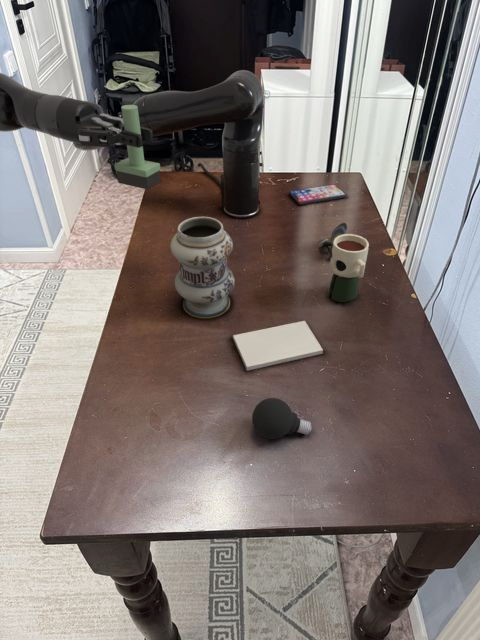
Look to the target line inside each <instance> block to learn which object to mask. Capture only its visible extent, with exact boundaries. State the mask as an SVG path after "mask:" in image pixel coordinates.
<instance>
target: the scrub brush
mask: <svg viewBox="0 0 480 640" xmlns="http://www.w3.org/2000/svg"><path fill="white" fill-rule="evenodd" d="M120 108H121V112H122V115H123V122H124V129H125V131H129V132H133V133H137V134H140V135H141V130H140V122H139V115H138V107H137V106H135V105H133V104H126V105H125V104H124V105H122V106H121V107H120ZM126 149H127V156H128V157H127V158H124V159H122V160H121V161H118V162H116V163H114V171H116V178H117V183H118V184H121V185H127V186H131V187H135V188H140V189H143V190H147V191H148V190H150V189H152V188H153V187H155V186H157V185H159V184H160V183H162V177H161V164H160V163H159V162H154V161H150V160H145V156H144V154H145V153H144V146H143V145H142V147H140V148H137V147H133V146H129V145H126Z"/></svg>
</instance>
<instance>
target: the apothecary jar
mask: <svg viewBox="0 0 480 640" xmlns="http://www.w3.org/2000/svg"><path fill="white" fill-rule="evenodd" d="M176 230H177V231H176V233H175V234H174V236H173V237H172V239H171V242H170V251H171V254H172V255H173V257H174V258H175V259H176V260H177V261H178V266H179V271H178V273H176V276H175V279H174V288H175V290H176V292H177V293H178V295H180V296H181V297H182V298H183V301H182V307H183V310H184V311H185V312H186V314H188V315H189V316H191V317H193V318H197V319H213V318H216V317H220V316H222V315H223V314H225V313H226V312H227V311H228V310H229V309H230V306H231V298H230V296H229V295H230V294H231V293H232V291H233V290H234V288H235V284H236V279H235V276H234V273H233V271H232V270H231V269H230V268H229V267H228V257H230V255H231V254H232V251H233V248H234V241H233V239H232V237H231V235H229V233H228V232H227V231H226V230H224V225H223V224H222V222H221V221H220V220H218V219H217V218H214V217H210V216H194V217H189V218H187V219H185V220H183V221H181V222H180V223H179V224H178V226H177V229H176Z"/></svg>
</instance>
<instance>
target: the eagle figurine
mask: <svg viewBox="0 0 480 640" xmlns="http://www.w3.org/2000/svg"><path fill="white" fill-rule="evenodd" d="M347 229H348V226H347V222H341V223H339V225H337V226H336V227H335V228H334V229H333V230H332V232H331V236H330V238H325V239H322V240H320V241H319V242H318V244H317V247H318V248H322V247H326V248H327V251H325V254H329V257H328V261H331V258H332V248H333V243H334V239H335V238H336V237H337V236H340V235H343V234H347Z"/></svg>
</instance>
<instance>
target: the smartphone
mask: <svg viewBox="0 0 480 640" xmlns="http://www.w3.org/2000/svg"><path fill="white" fill-rule="evenodd" d="M288 195H289V196H290V197H291V198H292V199H293V200H294V201H295V203H296V204H297V205H299V206H303V205H309V204H314V203H321V202H328V201H333V200H338V199H339V200H340V199H344V198H347V194H346V193H345V191H343V190H342V189H341V188H340V187H339V186H338V185H337V184H335V183H331V184H326V185H320V186H319V185H318V186H314V187H306V188H302V189H301V188H300V189H293V190H289V192H288Z"/></svg>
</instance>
